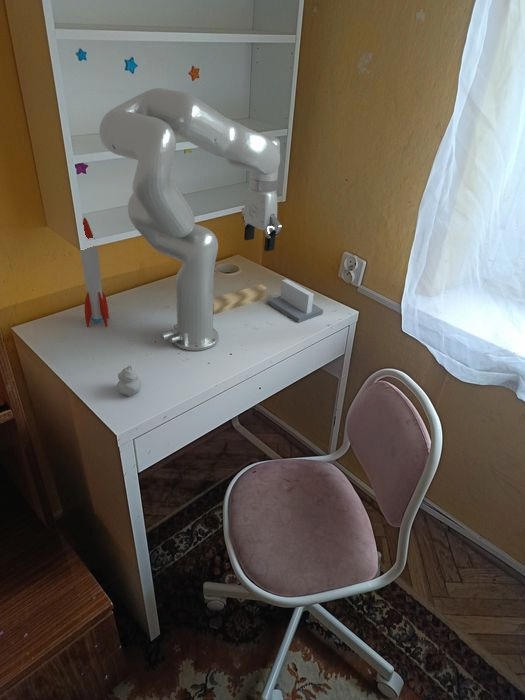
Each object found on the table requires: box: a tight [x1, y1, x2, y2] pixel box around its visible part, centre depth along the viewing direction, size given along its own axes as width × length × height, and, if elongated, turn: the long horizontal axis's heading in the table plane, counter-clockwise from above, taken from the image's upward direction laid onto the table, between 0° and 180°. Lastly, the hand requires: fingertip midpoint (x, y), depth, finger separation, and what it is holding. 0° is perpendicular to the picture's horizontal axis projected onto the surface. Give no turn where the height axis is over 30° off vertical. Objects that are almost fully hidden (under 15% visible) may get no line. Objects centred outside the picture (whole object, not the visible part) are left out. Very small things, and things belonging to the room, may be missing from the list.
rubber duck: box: [116, 364, 142, 397], centre depth 113 cm, size 5×7×8 cm
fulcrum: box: [267, 278, 324, 324], centre depth 152 cm, size 10×14×8 cm
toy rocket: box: [79, 217, 110, 328], centre depth 132 cm, size 6×6×30 cm
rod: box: [213, 284, 268, 315], centre depth 154 cm, size 20×3×4 cm, turn 128°
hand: (258, 244), depth 146 cm, fingers open, 9 cm apart
